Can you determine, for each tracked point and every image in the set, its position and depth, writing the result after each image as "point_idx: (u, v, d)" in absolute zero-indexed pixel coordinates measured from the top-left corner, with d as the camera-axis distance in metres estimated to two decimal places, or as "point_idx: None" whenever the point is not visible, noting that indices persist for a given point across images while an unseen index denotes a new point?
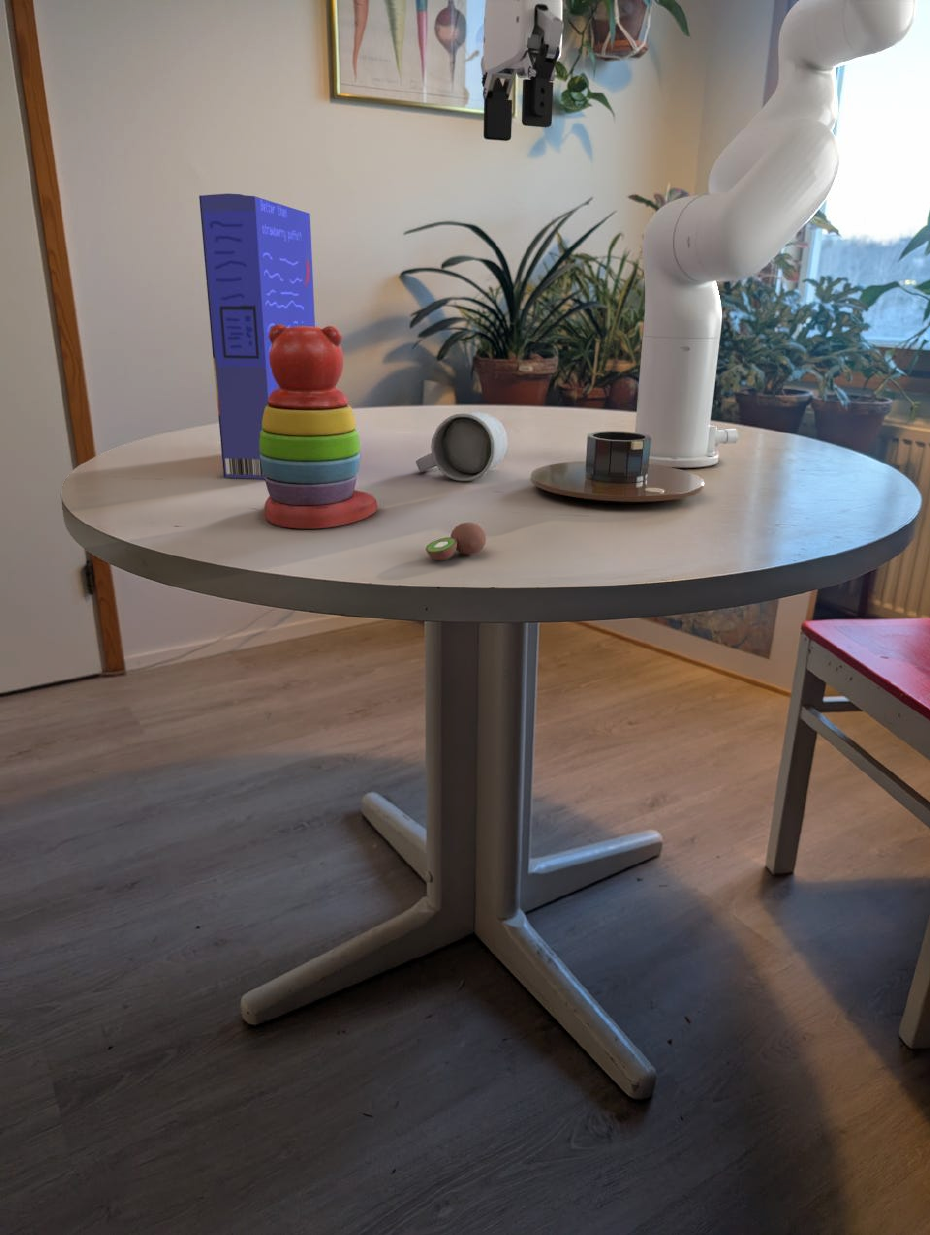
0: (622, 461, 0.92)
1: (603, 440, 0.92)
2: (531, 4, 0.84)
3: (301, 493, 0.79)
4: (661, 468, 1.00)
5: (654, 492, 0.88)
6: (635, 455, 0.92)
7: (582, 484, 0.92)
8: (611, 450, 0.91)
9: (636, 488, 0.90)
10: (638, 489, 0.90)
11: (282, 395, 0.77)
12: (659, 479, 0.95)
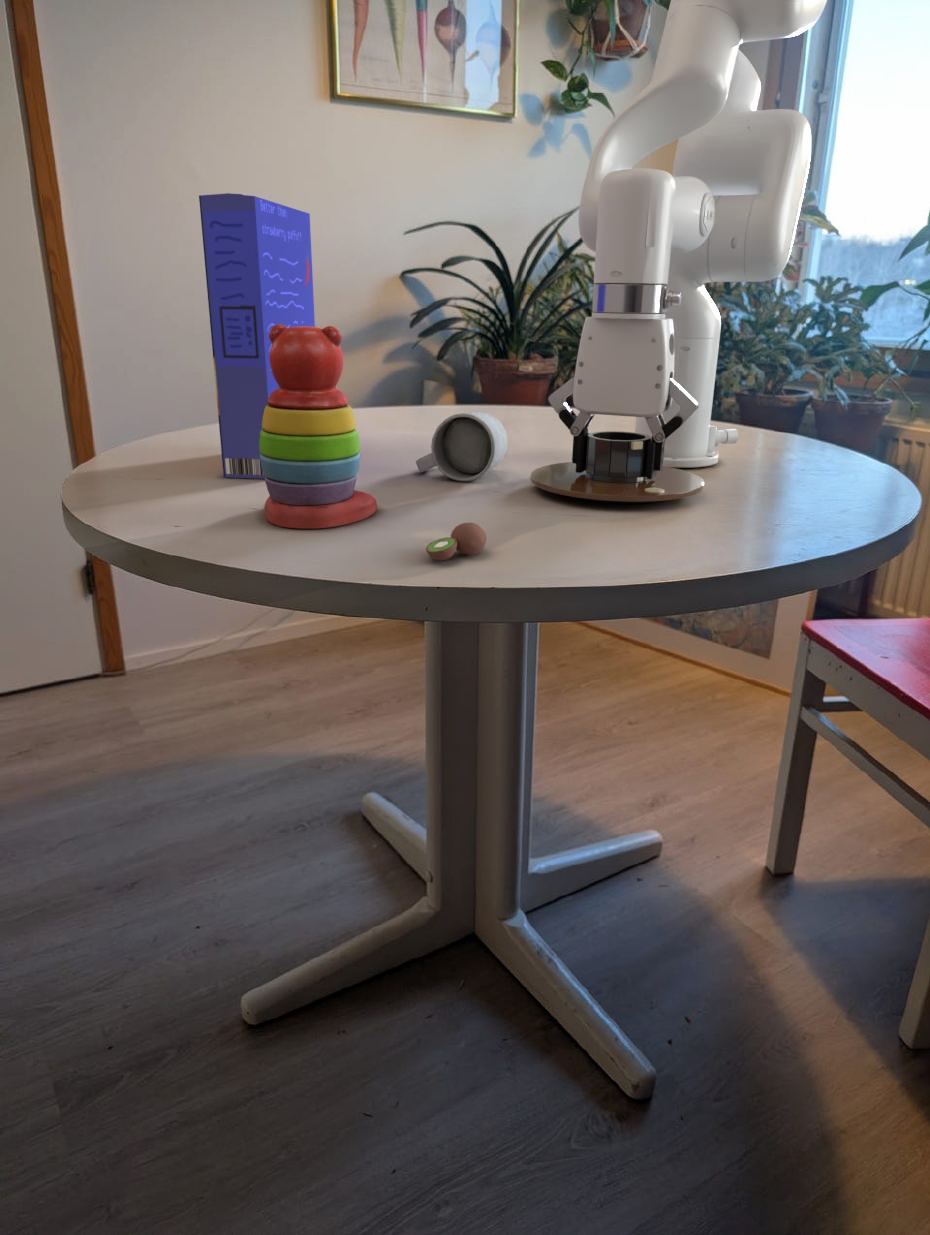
0: (622, 461, 0.92)
1: (603, 440, 0.92)
2: (668, 373, 0.89)
3: (301, 493, 0.79)
4: None
5: (654, 492, 0.88)
6: (635, 455, 0.92)
7: (582, 484, 0.92)
8: (611, 450, 0.91)
9: (636, 488, 0.90)
10: (638, 489, 0.90)
11: (283, 395, 0.77)
12: (659, 479, 0.95)
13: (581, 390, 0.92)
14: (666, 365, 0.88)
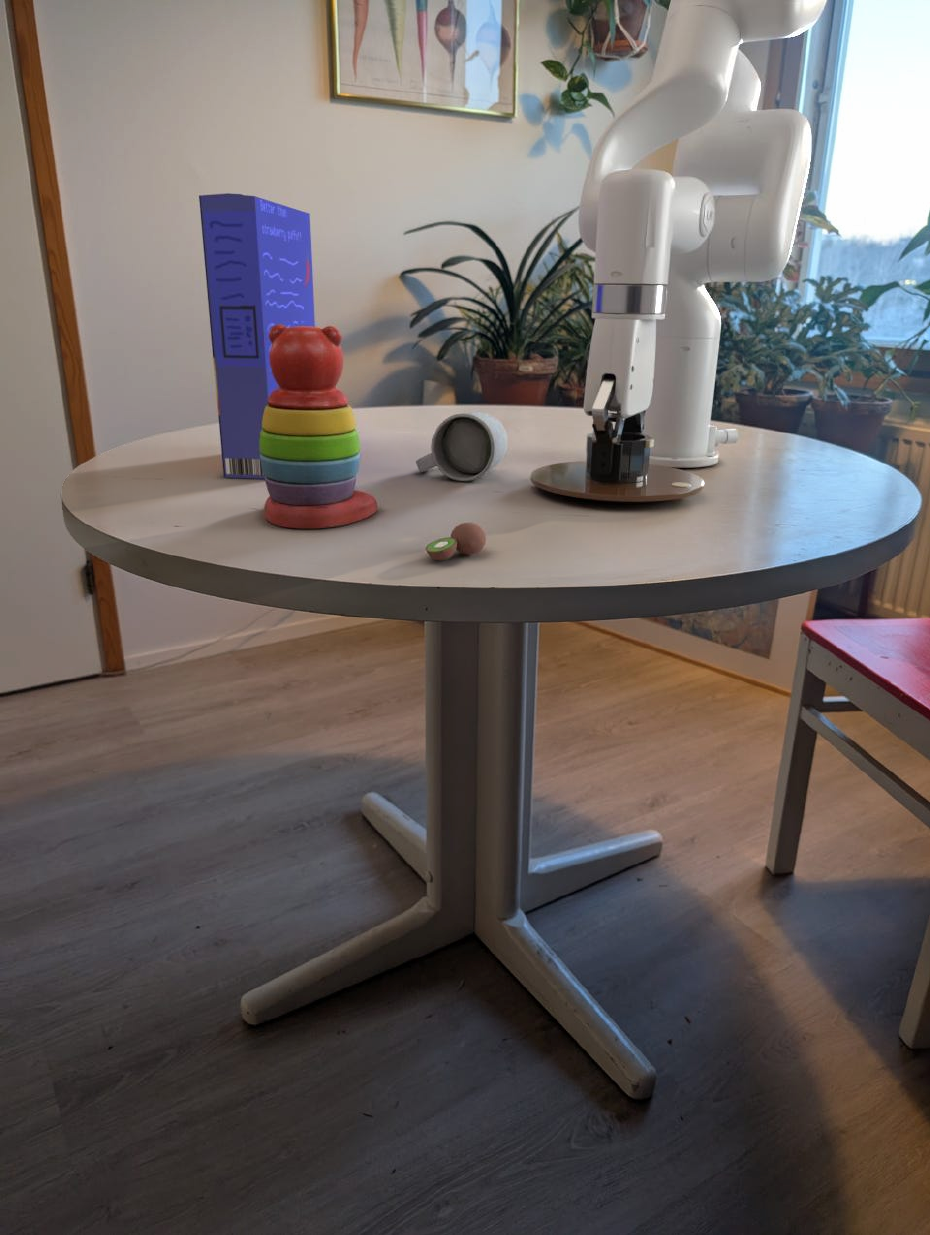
0: (639, 460, 0.92)
1: (621, 441, 0.91)
2: None
3: (301, 493, 0.79)
4: None
5: (686, 486, 0.91)
6: (647, 453, 0.93)
7: (614, 488, 0.90)
8: (630, 450, 0.91)
9: (663, 485, 0.92)
10: (667, 486, 0.91)
11: (282, 395, 0.77)
12: (653, 474, 0.97)
13: (630, 395, 0.88)
14: None
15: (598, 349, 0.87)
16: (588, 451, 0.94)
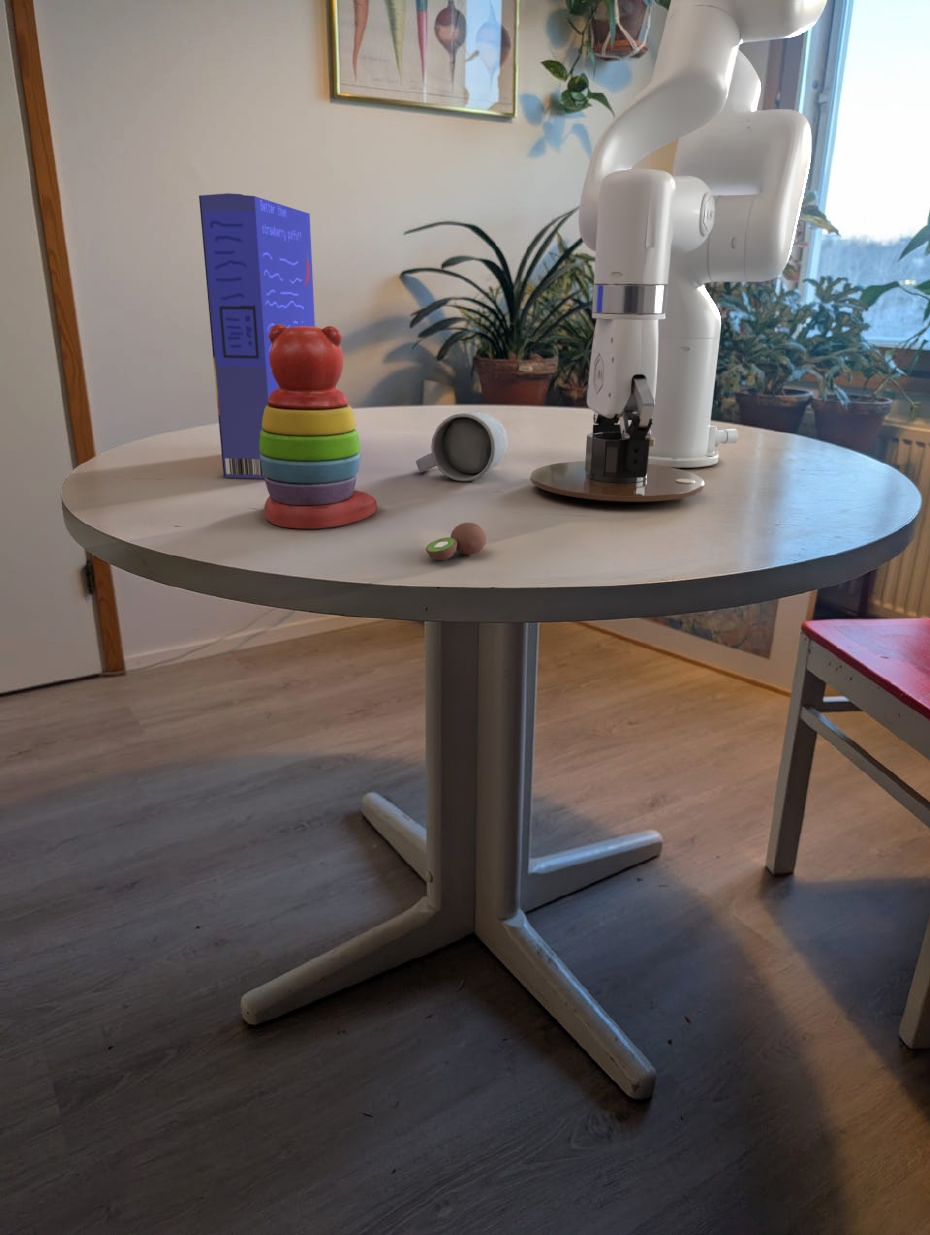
0: None
1: None
2: None
3: (301, 493, 0.79)
4: None
5: (692, 482, 0.93)
6: (649, 452, 0.94)
7: (631, 488, 0.90)
8: None
9: (670, 482, 0.93)
10: (674, 483, 0.93)
11: (283, 395, 0.77)
12: None
13: None
14: None
15: (627, 350, 0.86)
16: (593, 453, 0.93)
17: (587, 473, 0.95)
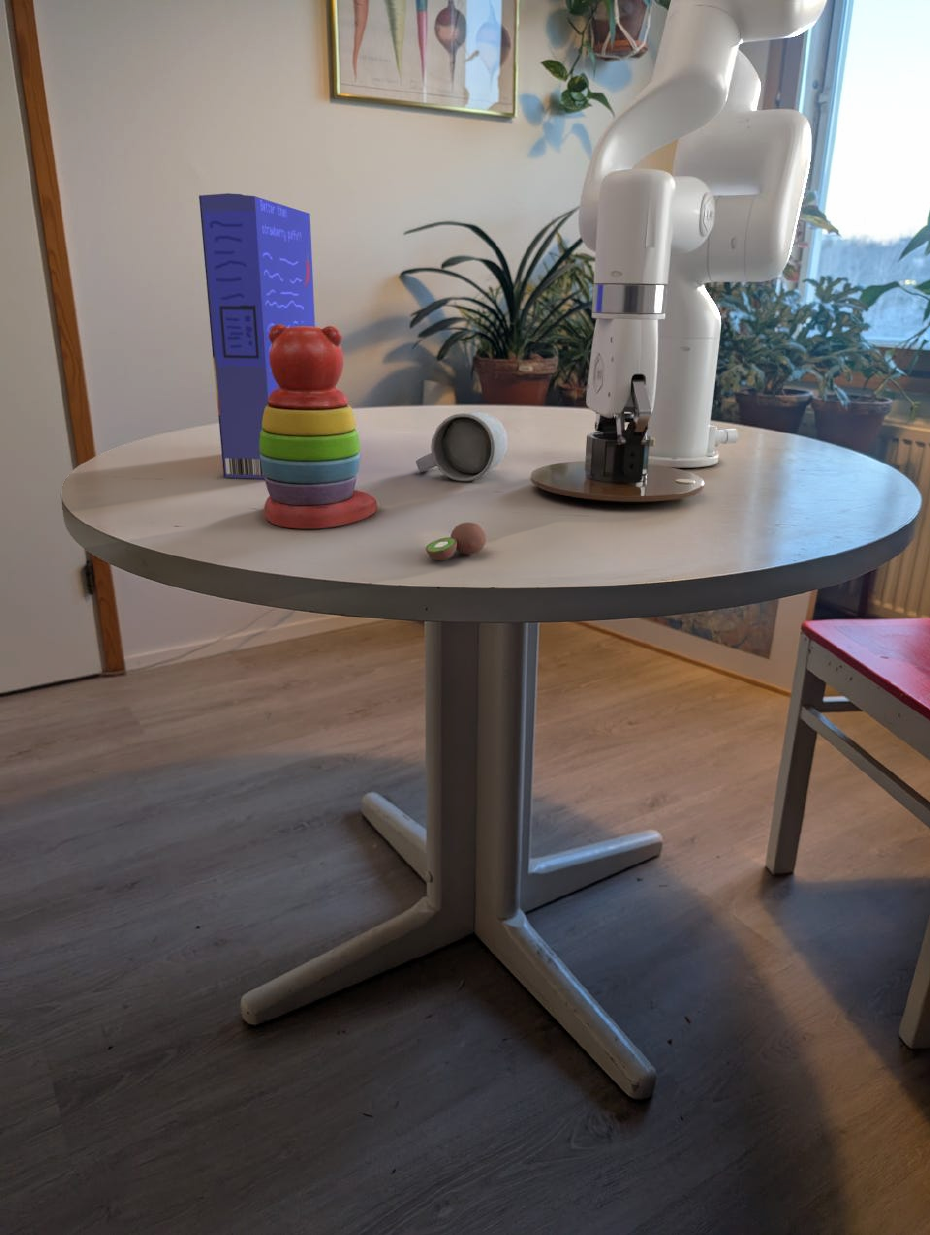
0: (645, 459, 0.93)
1: None
2: None
3: (301, 493, 0.79)
4: None
5: (692, 482, 0.93)
6: (649, 452, 0.94)
7: (631, 488, 0.90)
8: None
9: (670, 482, 0.93)
10: (674, 483, 0.93)
11: (282, 395, 0.77)
12: None
13: None
14: None
15: (627, 350, 0.86)
16: (593, 453, 0.93)
17: (587, 473, 0.95)
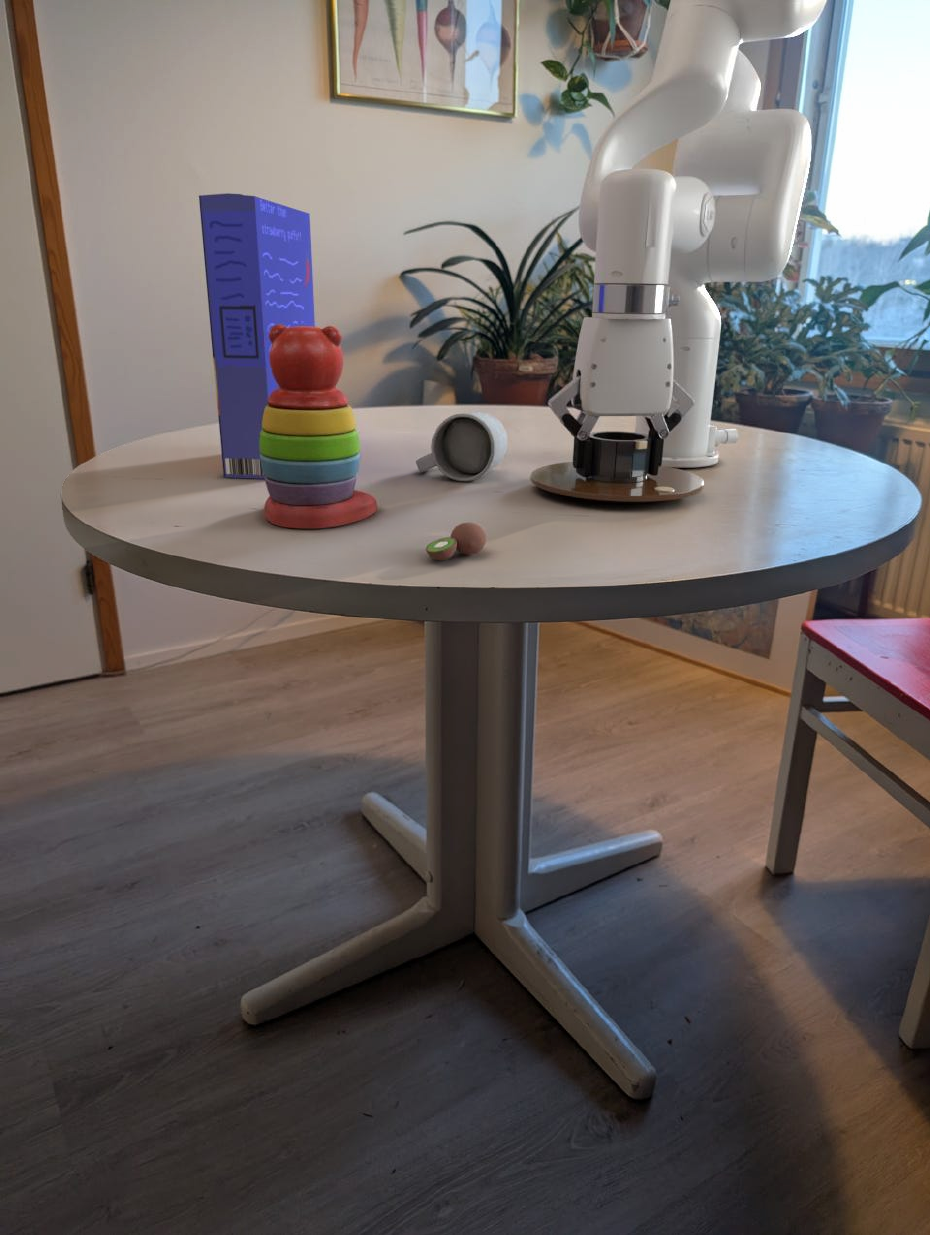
0: (627, 461, 0.92)
1: (608, 441, 0.91)
2: None
3: (301, 493, 0.79)
4: None
5: (666, 491, 0.89)
6: (639, 455, 0.92)
7: (590, 485, 0.91)
8: (617, 450, 0.91)
9: (645, 488, 0.90)
10: (648, 488, 0.90)
11: (282, 395, 0.77)
12: (659, 478, 0.95)
13: (593, 393, 0.90)
14: (673, 363, 0.91)
15: None
16: None
17: None
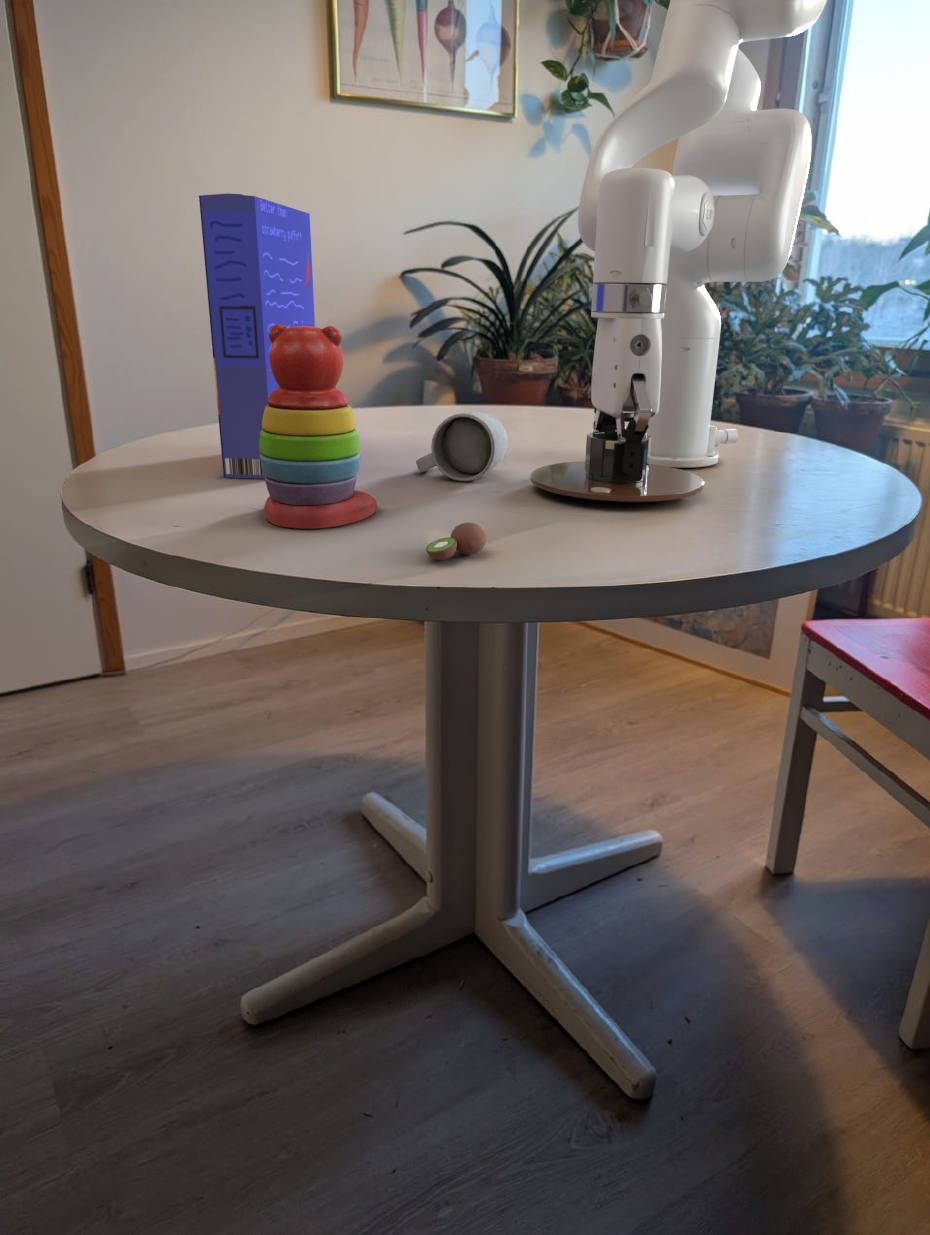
0: (598, 459, 0.93)
1: (589, 437, 0.94)
2: (628, 374, 0.87)
3: (301, 493, 0.79)
4: (689, 478, 0.95)
5: (593, 490, 0.89)
6: (611, 455, 0.92)
7: (562, 476, 0.96)
8: (591, 447, 0.93)
9: (592, 486, 0.91)
10: (591, 487, 0.91)
11: (283, 395, 0.77)
12: (645, 484, 0.92)
13: (592, 386, 0.96)
14: (622, 365, 0.87)
15: None
16: None
17: None
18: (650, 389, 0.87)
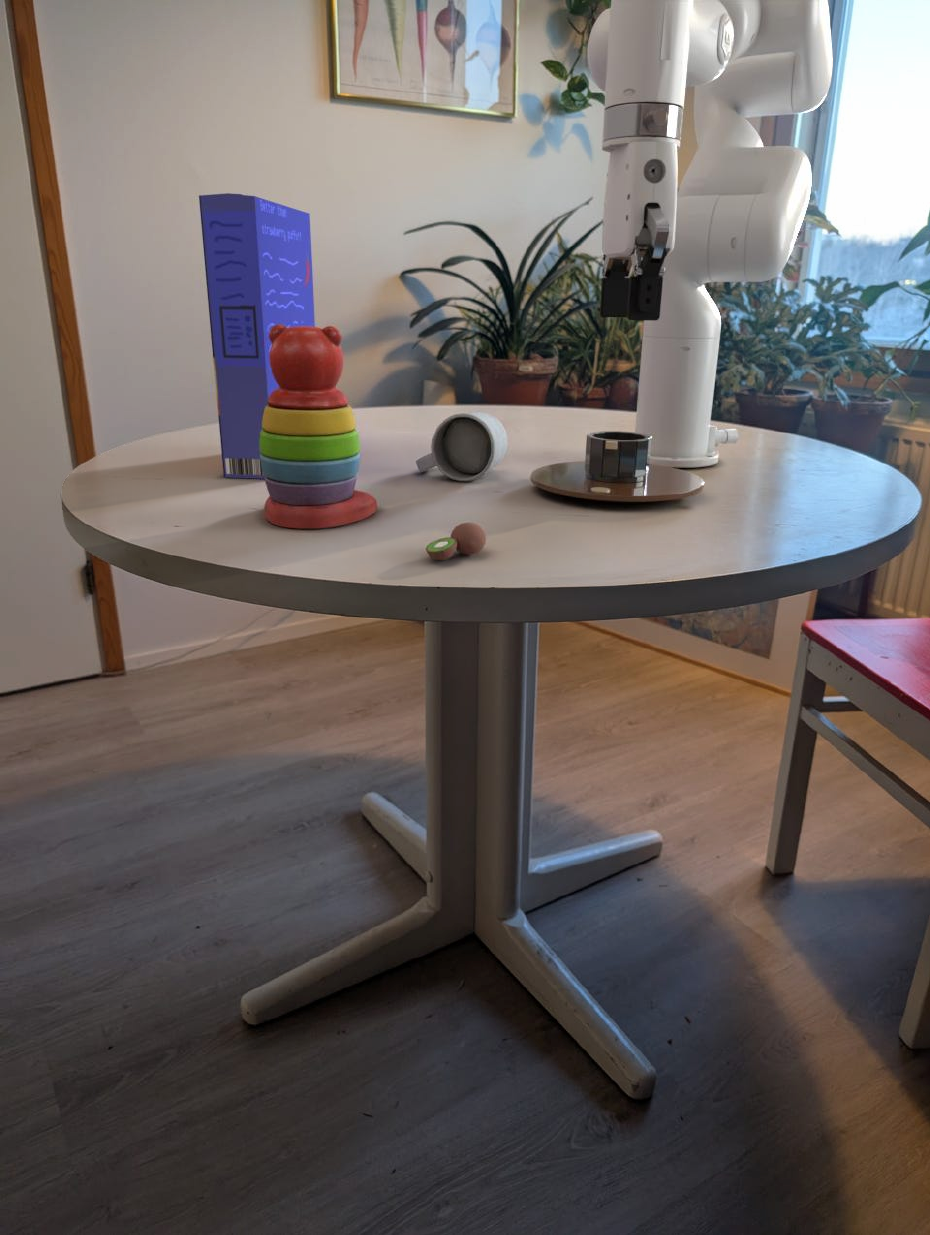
0: (598, 459, 0.93)
1: (589, 437, 0.94)
2: (641, 203, 0.81)
3: (301, 493, 0.79)
4: (689, 478, 0.95)
5: (593, 490, 0.89)
6: (611, 455, 0.92)
7: (561, 476, 0.96)
8: (591, 447, 0.93)
9: (592, 486, 0.91)
10: (591, 487, 0.91)
11: (282, 395, 0.77)
12: (645, 484, 0.92)
13: (603, 232, 0.90)
14: (635, 193, 0.81)
15: None
16: None
17: None
18: None
